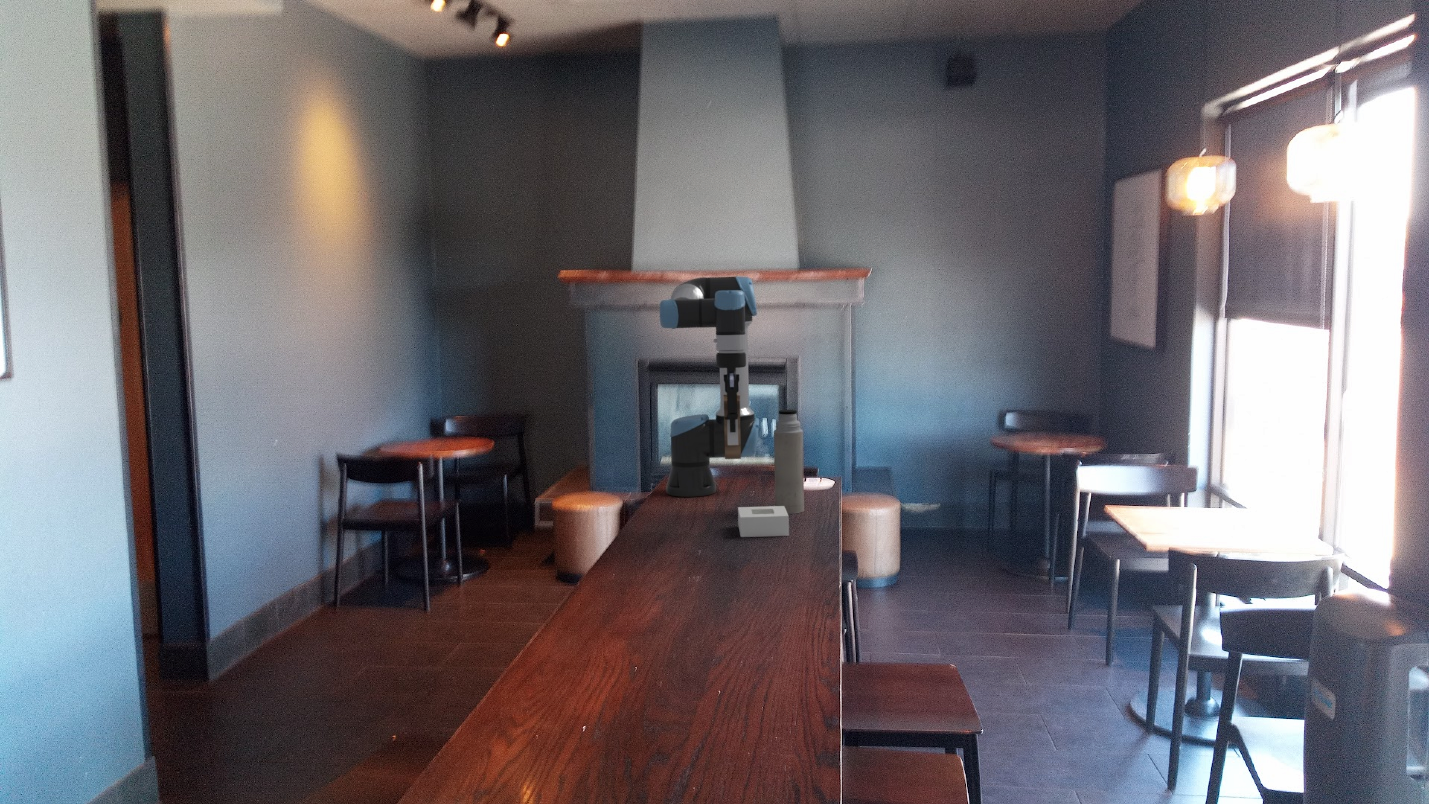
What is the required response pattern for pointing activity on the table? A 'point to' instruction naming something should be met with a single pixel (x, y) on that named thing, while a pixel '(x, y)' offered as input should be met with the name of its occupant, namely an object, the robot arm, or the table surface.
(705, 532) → the table surface
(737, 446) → the bronze peg
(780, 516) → the socket block
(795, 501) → the thermos bottle
